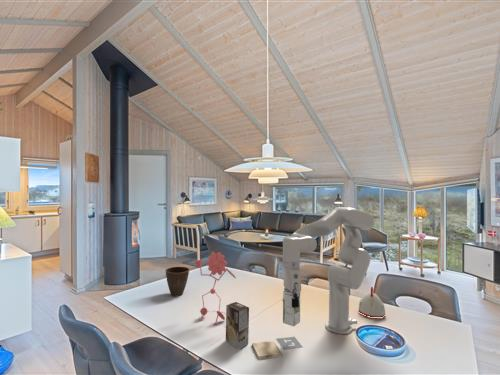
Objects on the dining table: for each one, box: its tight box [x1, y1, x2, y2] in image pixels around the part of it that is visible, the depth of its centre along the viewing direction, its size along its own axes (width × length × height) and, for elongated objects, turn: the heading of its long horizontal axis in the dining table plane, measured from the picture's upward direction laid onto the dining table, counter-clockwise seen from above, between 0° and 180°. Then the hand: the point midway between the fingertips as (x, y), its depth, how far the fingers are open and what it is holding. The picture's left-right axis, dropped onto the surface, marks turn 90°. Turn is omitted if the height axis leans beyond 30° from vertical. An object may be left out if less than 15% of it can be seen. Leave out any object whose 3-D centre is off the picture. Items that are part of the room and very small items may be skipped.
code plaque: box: [276, 336, 304, 350], centre depth 124 cm, size 9×9×1 cm
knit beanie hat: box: [358, 286, 386, 317], centre depth 159 cm, size 14×14×15 cm
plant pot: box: [165, 266, 190, 297], centre depth 181 cm, size 15×15×16 cm
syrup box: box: [282, 289, 301, 327], centre depth 125 cm, size 6×6×14 cm
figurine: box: [194, 251, 237, 328], centre depth 149 cm, size 15×26×35 cm, turn 64°
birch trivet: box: [251, 340, 283, 360], centre depth 117 cm, size 10×10×1 cm
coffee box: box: [225, 301, 250, 350], centre depth 124 cm, size 9×6×16 cm
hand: (291, 303), depth 125 cm, fingers closed on syrup box, 7 cm apart
